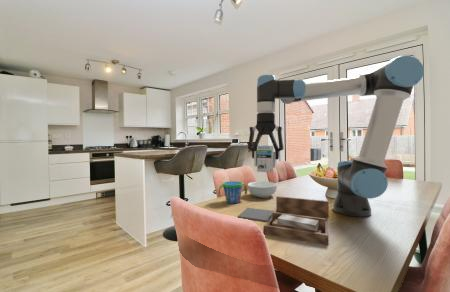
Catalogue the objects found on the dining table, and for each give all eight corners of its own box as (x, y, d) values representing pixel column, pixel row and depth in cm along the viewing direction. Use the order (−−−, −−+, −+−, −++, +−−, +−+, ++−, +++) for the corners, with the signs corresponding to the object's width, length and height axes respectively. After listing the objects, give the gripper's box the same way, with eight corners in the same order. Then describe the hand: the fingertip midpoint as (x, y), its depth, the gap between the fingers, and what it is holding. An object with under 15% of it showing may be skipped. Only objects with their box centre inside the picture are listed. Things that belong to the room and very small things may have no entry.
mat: (274, 212, 105) (274, 210, 105) (267, 221, 93) (267, 220, 93) (247, 208, 110) (247, 207, 110) (237, 217, 98) (237, 216, 98)
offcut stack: (321, 235, 80) (321, 220, 80) (318, 242, 75) (318, 226, 75) (276, 227, 88) (276, 213, 88) (271, 232, 83) (271, 218, 83)
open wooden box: (328, 220, 94) (328, 201, 93) (328, 244, 72) (328, 219, 72) (276, 213, 102) (276, 196, 102) (263, 234, 81) (263, 211, 81)
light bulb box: (273, 172, 92) (273, 146, 92) (256, 172, 93) (256, 145, 93) (272, 169, 103) (273, 145, 102) (257, 168, 104) (258, 144, 104)
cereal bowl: (256, 191, 146) (256, 180, 146) (281, 194, 136) (281, 183, 136) (242, 197, 132) (242, 184, 132) (269, 201, 122) (269, 188, 122)
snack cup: (220, 205, 116) (219, 185, 115) (217, 200, 126) (216, 181, 126) (249, 203, 118) (249, 184, 118) (244, 198, 129) (244, 180, 128)
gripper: (291, 112, 97) (290, 166, 97) (245, 114, 105) (245, 164, 106) (289, 111, 90) (288, 169, 91) (240, 113, 98) (239, 166, 99)
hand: (265, 166), depth 98 cm, fingers closed on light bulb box, 7 cm apart
